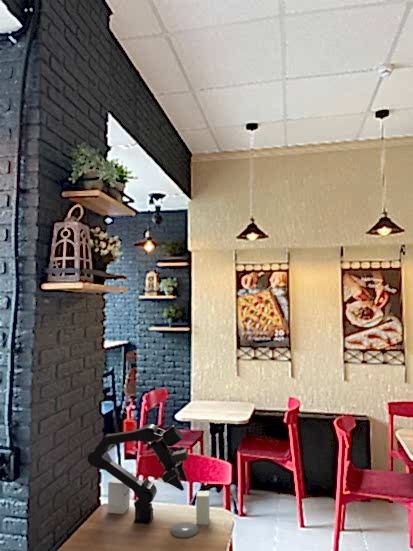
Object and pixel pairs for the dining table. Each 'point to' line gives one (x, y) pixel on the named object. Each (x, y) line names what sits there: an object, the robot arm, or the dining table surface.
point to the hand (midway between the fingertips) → (184, 485)
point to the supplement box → (118, 496)
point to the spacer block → (202, 507)
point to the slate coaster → (184, 529)
